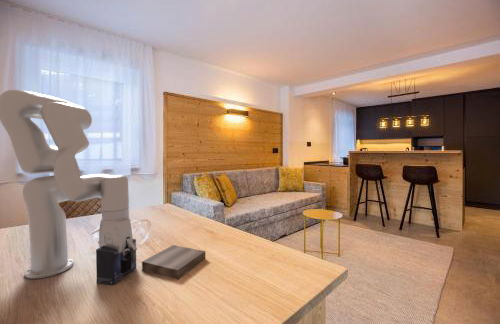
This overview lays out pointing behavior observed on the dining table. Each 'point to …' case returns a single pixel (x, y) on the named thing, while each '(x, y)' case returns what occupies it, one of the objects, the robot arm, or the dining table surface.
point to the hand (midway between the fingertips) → (117, 268)
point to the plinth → (173, 261)
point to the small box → (111, 265)
